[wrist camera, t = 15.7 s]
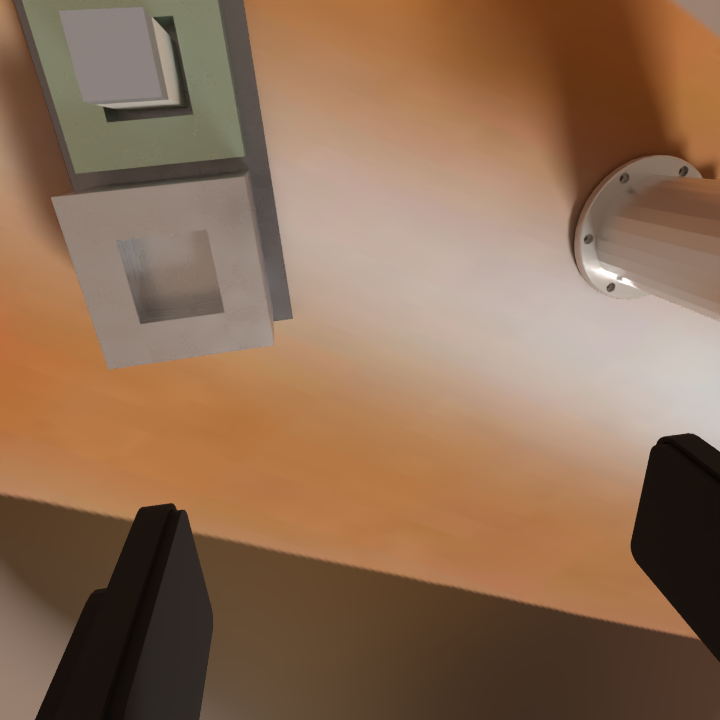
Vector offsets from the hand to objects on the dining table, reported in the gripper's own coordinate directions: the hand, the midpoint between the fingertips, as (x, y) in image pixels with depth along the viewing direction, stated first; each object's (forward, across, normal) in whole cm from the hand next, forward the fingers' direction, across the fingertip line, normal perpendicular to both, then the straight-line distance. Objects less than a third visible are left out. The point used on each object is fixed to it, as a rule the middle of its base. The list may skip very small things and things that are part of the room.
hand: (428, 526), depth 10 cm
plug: (+32, +11, -12) cm, 36 cm away
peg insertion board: (+34, +10, -6) cm, 36 cm away
